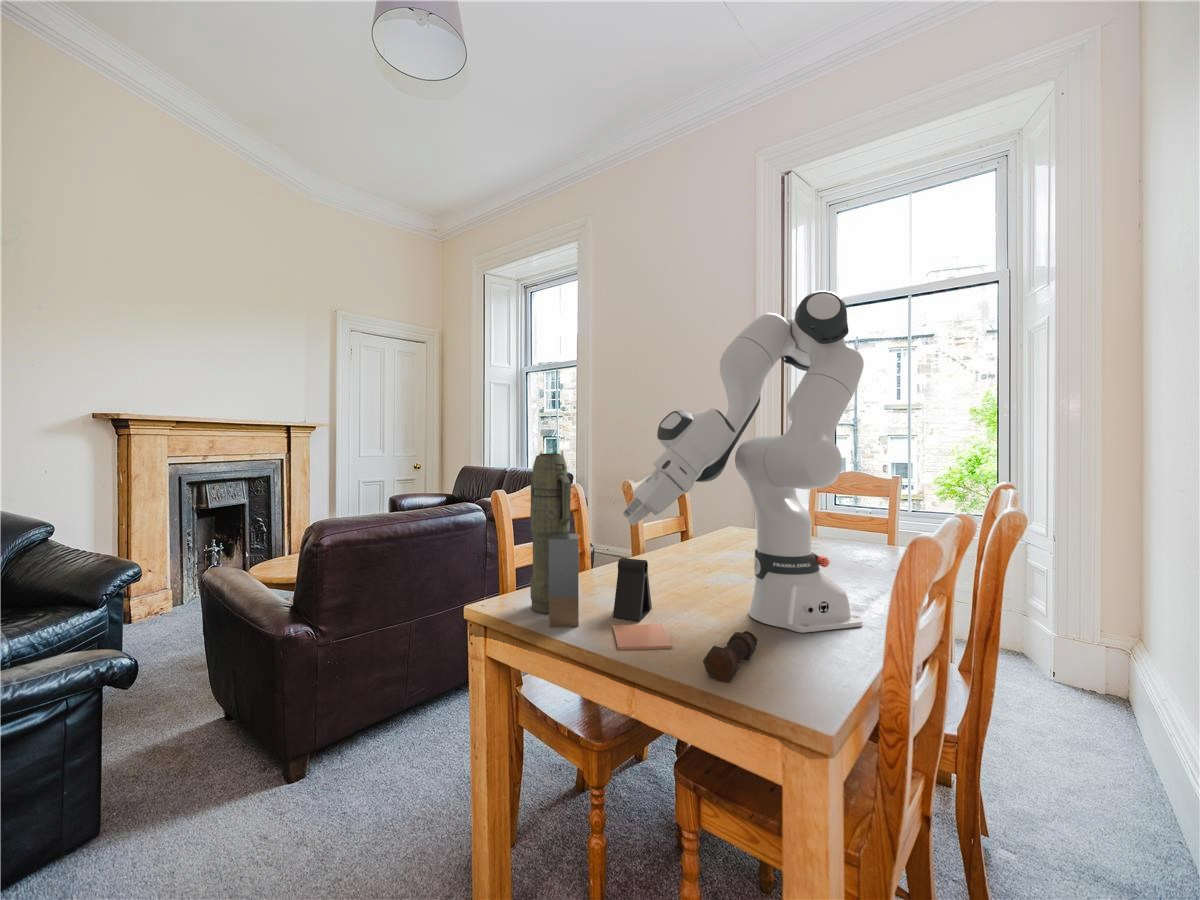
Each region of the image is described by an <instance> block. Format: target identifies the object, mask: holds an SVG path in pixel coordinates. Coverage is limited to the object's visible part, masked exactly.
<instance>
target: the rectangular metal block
mask: <svg viewBox="0 0 1200 900" xmlns="http://www.w3.org/2000/svg"><path fill="white" fill-rule="evenodd" d="M580 550H581V549H580V548H579V533H568V534H550V536H549V615H548V627H549V628H570V627H571V628H572V627H573V628H575V627H577V628H578V627H579V619H580V618H579V615H580V614H579V611H580V610H579V607H580V606H579V602H580V601H579V600H580V599H579V595H580V594H579V573H580V572H581V559H580V558H581V551H580Z"/></svg>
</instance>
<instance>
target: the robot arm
mask: <svg viewBox="0 0 1200 900" xmlns="http://www.w3.org/2000/svg"><path fill="white" fill-rule="evenodd" d="M848 324H849V323H848V311H847V305H846V303H845V301H844V299H843V297H841V296H840V295H839V294H837V293H836V292H834V291H829V290H815V291H813V292H810V293H809V294H807V295H806V296H805V297H804V298H803V299H802V300H801V302H799V304H798V306H797V308H796V310H795V314H794V318H790V319H787V318H785V317H783V316H782V315H780V314H777V313H773V312H767V313H763V314H761V315H759V316H758V317H756V319H753V320H752V322H750V323H749V324H748V325H747V326H746V327H744V328H743V329H742V331H740V333H739V334H738V335H737V336H736V337H735V338H734V339H733V340H732V341H731V342H730V344H729V345H728V346H727V347H726V348H725V350H724V352H723V353H722V355H721V358H720V361H719V373H720V378H721V381H722V384H723V387H724V389H725V394H726V397H727V412H726V415H724V414H723V413H722V412H721V411H720V410H718V409H716V408H710V409H708V410H707V411H704V412H702V413H696V412H695V413H694V412H693V413H692V412H690V411H689V412H688V410H673V411H671V412H669V413H668V414H667V415H666V416H665V417H664V418H663V419H662V420H661V421H660V423H659V425H658V427H657V434H656V437H657V439H658V440H659V443H660V444H661V445H662V447H663V448H664V449H665V451H664V452H663V453H662V454H661V455H660V456H659V457H658V458H657V459H656V460H655V461H654V462H653V466H654V467H655V469H654V471H652V473H651V474H650V475H649V476H648V477H647V478H645V480H643V481H642V482H641V483H640V484H639V485H638V486H636V488H635V489H634V490H633V492H632V494H633V496H634V498H633V499H632V500H631V501H630V503H629V504H628V506H627V507H626V508H625V509H624V510H623V511H622V515H623V516H624V517H625V518H626V519H627V522H628V523H629V525H631V526H632V527H635V526H636V525H637V524H638V523H639V522H640V521H642V520H643V519H645V518H646V517H647V516H648V515H650V513H652V514H653V515H654V516H658V515H659V514H661V513H663V511H665V510H666V509H667V508H669V507H670V506H671V505H672V504H673V503H674V502H676V501H677V500H678V499H679V498H680V497H681V496H682V494H684V493H685V494H687V493H688V492H690V491H691V489H693V487H694V484H695V482H696V483H697V482H698V483H706V482H712V481H714V480H716V479H717V478H719V476H720V475H721V474H722V473H723V471H724V469H725V468H726V465H727V463H728V460H729V458H730V455H731V453H732V451H733V449H734V448H735V446H736V444H738V442H739V440H740V438H741V436H742V435H743V433H744V431H745V430H746V428H747V427H748V425H749V424H750V422H751V420H752V419H753V416H754V415H755V413H756V411H757V409H758V407H759V405H760V403H761V392H762V388H763V385H764V382H765V380H766V378H767V376H768V374H769V372H770V371H772V368H774V366H775V365H777V362H779V360H780V359H781V360H782V361H783V362H784V363H785V364H788V365H791V366H793V367H794V368H795V369H798V370H800V371H805V374H804V376H803V377H802V378H801V381H800V382H799V384H798V386H797V387H796V389H795V390H794V391H793V393H792V395H791V397H790V398H789V400H788V402H787V405H786V413H787V416H788V418H789V420H790V421H791V422H790V426H789V428H788V430H787V431H786V432H785V433H784V434H782V435H759V436H755V437H751V438H749V439H746V440H744V441H743V442H741V444H739V446H738V447H737V449H736V451H735V456H734V465H735V468H736V470H737V472H738V474H739V475H740V476H741V477H742V478H743V480H744V481H745V483H746V486H748V489H749V492H750V496H751V498H752V503H753V506H754V511H755V518H756V548H755V549H754V559H753V570H754V575H755V580H754V581H755V582H754V589H753V594H752V598H751V599H752V600H751V604H750V607H749V610H748V616H749V617H751V618H752V619H753V620H754V621H758V622H760V623H761V624H766V625H769V626H774V627H778V628H783V629H787V630H790V631H792V632H795V633H810V632H821V631H831V630H841V629H849V628H850V629H851V628H858V627H862V625H863V619H862V618H861V616H860V615H859V614H858V613H857V612H855V611H854V610H852V609H851V605H850V602H849V597H848V595H847V592H846V591H845V589H843V588H842V587H841V585H839V584H838V583H836V582H835V581H834V580H833V579H831V578H830V577H829V576H828V575H826V574H825V573H824V572H823V571H821V570H820V569H821V568H820V566H821V567H823V568H827V567H828V566H829V565H830V564H831V563H830V560H829V559H828V557H825V556H823V555H820V556H819V555H818V554H815V553H814V552H813V551H812V532H813V531H812V525H813V522H812V516H811V515H810V513H809V511H808V509H806V508H805V507H804V506H803V505H802V503H801V502H800V500H799V498H798V496H797V492H796V489H799V490H813V489H821V488H826V487H829V486H831V485H832V484H835V482H836V481H837V479H838V478H839V476H840V475H841V472H842V466H843V459H842V458H843V457H842V453H841V451H840V449H839V448H838V446H837V445H836V442H835V433H836V431H837V430H836V429H837V427H838V426H837V425H838V424H839V423H840V420H841V419H842V416H843V414H844V413H845V410H846V408H847V407H848V405H849V403H850V401H851V400H852V397H853V396H854V395H855V392H856V389H857V388H858V385H859V382H860V380H861V377H862V374H863V371H864V365H865V363H864V359H863V356H862V354H861V353H860V352H859V351H858V350H857V349H856V348H854V347H853V346H851V345H848V344H847V343H846V342H845V338H846V336H847V335H848V334H849V325H848Z"/></svg>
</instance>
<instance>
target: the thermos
mask: <svg viewBox="0 0 1200 900" xmlns="http://www.w3.org/2000/svg"><path fill="white" fill-rule="evenodd" d="M571 488H572V482H571V480H570V478H569V476H568V467H567V463H566V459H565V456H564V455H563V454H561V453H539V454H538V455H536V456H535V459H534V463H533V466H532V475H531V477H530V509H529V510H530V514H529V515H530V532H531V535H532V575H531V578H530V587H529V588H530V600H531V607H530V608H531V609H532V610H531V612H533V613H535V614H537V613H538V615H542V614H543V616H549V536H550V534H570V529H571V524H570V523H571V495H572V494H571V493H572V492H571V491H572V489H571Z"/></svg>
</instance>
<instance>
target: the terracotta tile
mask: <svg viewBox="0 0 1200 900" xmlns="http://www.w3.org/2000/svg"><path fill="white" fill-rule="evenodd" d="M612 628H613V634H614V638H615V642H616V647H617V650H622V651H625V650H654V649H655V650H659V649H660V650H663V649H673V644H672V642H671V640H670V638H669V636H668V633H667V632H666V630H665V626H663V624H662V623H659V624H658V623H656V624H655V623H653V624H646V623H645V624H614V625H612Z"/></svg>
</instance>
